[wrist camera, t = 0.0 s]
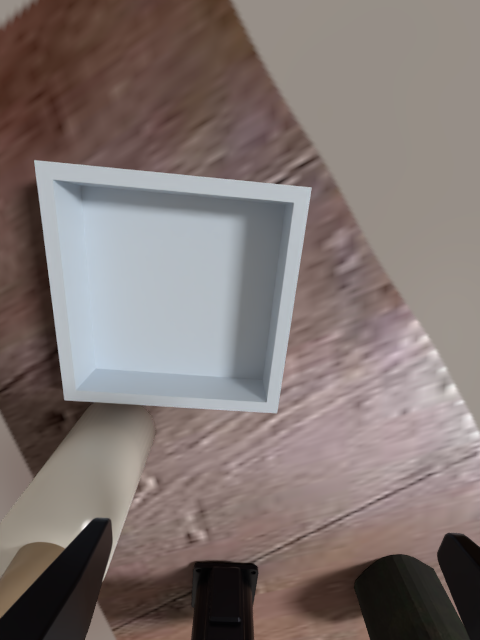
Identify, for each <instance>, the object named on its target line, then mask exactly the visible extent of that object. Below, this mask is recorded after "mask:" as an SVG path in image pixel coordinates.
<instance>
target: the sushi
mask: <svg viewBox="0 0 480 640" xmlns="http://www.w3.org/2000/svg"><path fill="white" fill-rule="evenodd" d="M354 589H355V592H356V595H357V598H358V601H359V605H360V608H361V611H362V615H363V618H364V621H365V624H366V628H367V631H368V634H369V637H370V640H470V639H469V637H468V634H467V632H466V630H465V627H464V625H463V623H462V622H461V620H460V618H459V616H458V614H457V612H456V610H455V608H454V607H453V605H452V603H451V601H450V599H449V597H448V595H447V593H446V591H445V590H444V588H443V586H442V584H441V582H440V580H439V578H438V576H437V575H436V573H435V571H434V569H433V568H431V567H430V566H428V565H426V564H424V563H423V562H421V561H419V560H417V559H416V558H413V557H410V556H408V555H392V556H387V557H384V558H382V559H380V560H378V561H376V562H375V563H374V564H372V565H371V566H370V567H369V568H368V569H366V570H365V571H364V572H363V574H362V575H361V576H360V577H359V578H358V579H357V580H356V582H355V585H354Z"/></svg>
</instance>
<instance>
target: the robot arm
mask: <svg viewBox="0 0 480 640" xmlns="http://www.w3.org/2000/svg"><path fill="white" fill-rule="evenodd" d="M112 544H113V536H112V523H111V519H110V518H98V517H97V518H94V519H93V520H92V521H91V522H90V523H89V524H88V525H87V526H86V527H85V528H84V529H83V530H82V531H81V532H80V533H79V534H78V535H77V537H76V538H75V539H74V540H73V541H72V542H71V543H70V544H69V545H68V546H67V547H66V548H65V549H64V550H63V552H62V553H61V554H60V555H59V556H58V557H57V558H56V559H55V560H54V561H53V562H52V563H51V564H50V565H49V566H48V568H47V569H46V570H45V571H44V572H43V573H42V574H41V575H40V576H39V577H38V578H37V579H36V580H35V581H34V583H33V584H32V585H31V586H30V587H29V588H28V589H27V590H26V591H25V592H24V593H23V594H22V595H21V596H20V598H19V599H18V600H17V601H16V602H15V603H14V604H13V605H12V606H11V607H10V608H9V609H8V610H7V611H6V613H5V614H4V615H3V616H2V617H1V618H0V640H85V637H86V634H87V632H88V629H89V626H90V623H91V619H92V616H93V613H94V609H95V606H96V602H97V599H98V595H99V592H100V588H101V585H102V581H103V577H104V574H105V570H106V567H107V563H108V560H109V556H110V553H111V549H112ZM437 558H438V562H439V565H440V568H441V570H442V573H443V575H444V578H445V580H446V583H447V585H448V588H449V590H450V593H451V595H452V598H453V600H454V603H455V605H456V607H457V610H458V612H459V615H460V617H461V620H462V622H463V625H464V627H465V630H466V632H467V634H468V637H469V639H470V640H480V547H479V546H478V545H477V544H475V543H474V542H473V541H472V540H471V539H469V538H468V537H467V536H465V535H464V534H461V533H447V534H446V535H445V536H444V538H443V541H442V543H441V545H440V547H439V550H438V552H437ZM257 578H258V567H257V566H256V565H239V564H212V563H196V564H195V565H194V569H193V587H192V607H193V608H194V617H193V626H192V636H191V640H254V626H253V602H254V596H255V590H256V584H257Z"/></svg>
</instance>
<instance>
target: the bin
mask: <svg viewBox="0 0 480 640" xmlns="http://www.w3.org/2000/svg"><path fill="white" fill-rule="evenodd" d="M34 163H35V171H36V179H37V187H38V195H39V203H40V211H41V218H42V226H43V234H44V242H45V250H46V258H47V266H48V274H49V282H50V290H51V298H52V306H53V313H54V321H55V329H56V337H57V345H58V353H59V361H60V369H61V377H62V385H63V393H64V400H68V401H84V402H101V403H117V404H133V405H150V406H166V407H182V408H198V409H215V410H231V411H247V412H264V413H277V410H278V404H279V397H280V391H281V384H282V378H283V371H284V365H285V358H286V352H287V345H288V339H289V332H290V325H291V319H292V312H293V306H294V299H295V293H296V286H297V280H298V273H299V267H300V260H301V254H302V247H303V241H304V234H305V228H306V221H307V214H308V208H309V201H310V195H311V187H301V186H290V185H280V184H270V183H260V182H250V181H240V180H229V179H219V178H209V177H199V176H189V175H179V174H169V173H158V172H148V171H138V170H128V169H118V168H108V167H97V166H87V165H77V164H67V163H57V162H47V161H36V160H34Z"/></svg>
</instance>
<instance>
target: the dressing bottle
mask: <svg viewBox="0 0 480 640" xmlns="http://www.w3.org/2000/svg"><path fill="white" fill-rule="evenodd" d="M155 435H156V427H155V423H154V420H153V418H152V416H151V415H150V413H149V412H148V411H147V410H146V409H145V408H144V407H142V406H141V405H133V404H117V403H101V402H94V403H93V404H91V405H90V406H89V407H88V408H87V410H86V411H85V412H84V413H83V415H82V416H81V417H80V419H79V420H78V421H77V423H76V424H75V425H74V427H73V428H72V429H71V430H70V432H69V433H68V434H67V436H66V437H65V438H64V440H63V441H62V442H61V444H60V445H59V446H58V448H57V449H56V450H55V451H54V453H53V454H52V455H51V457H50V458H49V459H48V461H47V462H46V463H45V465H44V466H43V467H42V469H41V470H40V471H39V472H38V474H37V475H36V476H35V478H34V479H33V480H32V482H31V483H30V484H29V486H28V487H27V488H26V490H25V491H24V492H23V493H22V495H21V496H20V497H19V499H18V500H17V501H16V503H15V504H14V506H13V507H12V508H11V509H10V511H9V512H8V513H7V514H6V516H5V517H4V518H3V520H2V521H1V523H0V618H1V617H2V616H3V615H4V614H5V613H6V611H7V610H8V609H9V608H10V607H11V606H12V605H13V604H14V603H15V602H16V601H17V600H18V599H19V598H20V596H21V595H22V594H23V593H24V592H25V591H26V590H27V589H28V588H29V587H30V586H31V585H32V584H33V583H34V581H35V580H36V579H37V578H38V577H39V576H40V575H41V574H42V573H43V572H44V571H45V570H46V569H47V568H48V566H49V565H50V564H51V563H52V562H53V561H54V560H55V559H56V558H57V557H58V556H59V555H60V554H61V553H62V552H63V550H64V549H65V548H66V547H67V546H68V545H69V544H70V543H71V542H72V541H73V540H74V539H75V538H76V537H77V535H78V534H79V533H80V532H81V531H82V530H83V529H84V528H85V527H86V526H87V525H88V524H89V523H90V522H91V521H92V520H93V519H94V518H97V517H98V518H110V519H111V523H112V536H113V544H112V549H111V553H110V556H109V560H108V563H107V567H106V570H105V574H104V577H103V580H104V578H105V575H106V573H107V570H108V567H109V564H110V562H111V559H112V556H113V553H114V550H115V548H116V545H117V542H118V539H119V536H120V534H121V531H122V528H123V525H124V522H125V520H126V517H127V514H128V511H129V508H130V506H131V503H132V500H133V497H134V494H135V492H136V489H137V486H138V483H139V480H140V478H141V475H142V472H143V469H144V466H145V464H146V461H147V458H148V455H149V452H150V450H151V447H152V444H153V441H154V438H155Z"/></svg>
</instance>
